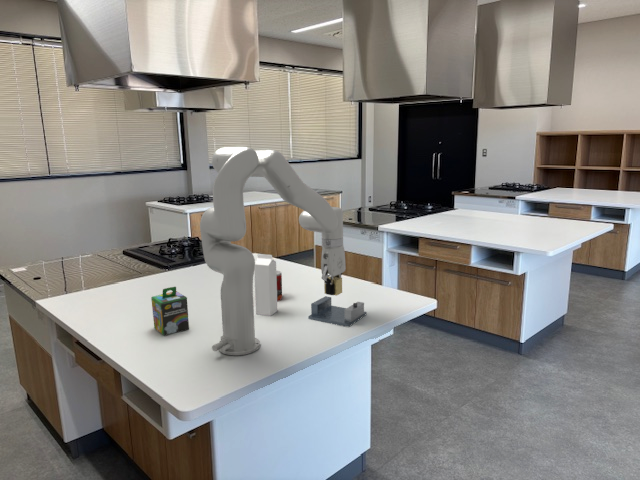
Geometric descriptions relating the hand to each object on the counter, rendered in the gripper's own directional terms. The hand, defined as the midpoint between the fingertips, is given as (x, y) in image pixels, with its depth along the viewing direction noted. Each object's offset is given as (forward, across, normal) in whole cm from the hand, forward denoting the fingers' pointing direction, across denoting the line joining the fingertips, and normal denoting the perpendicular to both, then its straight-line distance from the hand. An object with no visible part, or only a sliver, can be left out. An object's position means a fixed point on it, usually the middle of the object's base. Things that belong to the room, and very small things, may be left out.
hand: (333, 292), depth 167 cm
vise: (+9, 0, -2) cm, 9 cm away
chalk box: (+8, -38, +41) cm, 57 cm away
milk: (+9, -9, +23) cm, 26 cm away
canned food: (+9, +5, +31) cm, 33 cm away
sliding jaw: (+8, 0, -9) cm, 12 cm away
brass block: (0, 0, 0) cm, 0 cm away
